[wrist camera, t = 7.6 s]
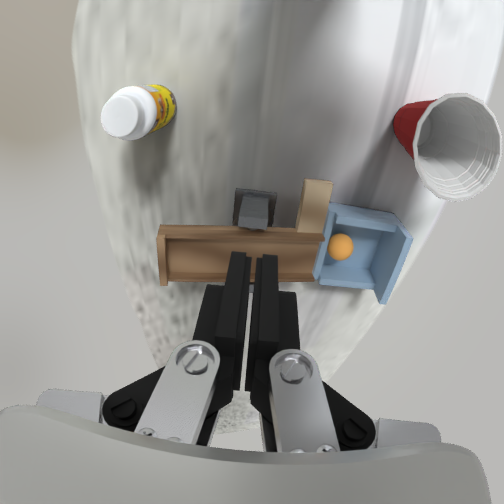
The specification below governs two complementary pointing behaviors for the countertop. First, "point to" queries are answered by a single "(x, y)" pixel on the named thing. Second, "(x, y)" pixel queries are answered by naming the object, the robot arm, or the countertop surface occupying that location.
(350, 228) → the blue tray
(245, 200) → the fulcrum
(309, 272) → the lever
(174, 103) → the supplement bottle
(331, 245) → the ball
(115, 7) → the countertop surface
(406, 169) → the countertop surface
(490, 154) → the plastic cup
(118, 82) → the countertop surface
